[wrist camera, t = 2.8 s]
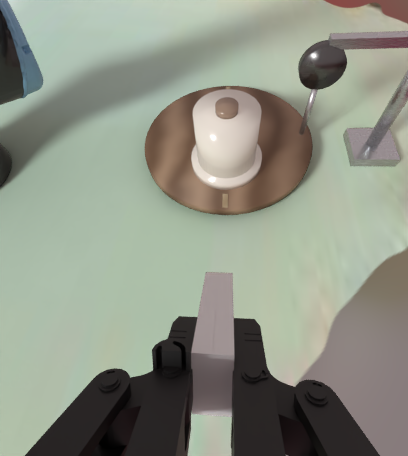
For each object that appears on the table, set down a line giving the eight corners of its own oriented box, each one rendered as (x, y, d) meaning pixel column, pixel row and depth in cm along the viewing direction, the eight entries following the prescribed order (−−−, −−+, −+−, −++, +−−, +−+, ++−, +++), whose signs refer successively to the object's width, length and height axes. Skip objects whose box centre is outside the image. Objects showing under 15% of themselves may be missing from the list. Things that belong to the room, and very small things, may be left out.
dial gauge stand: (281, 165, 49) (312, 45, 31) (278, 135, 52) (305, 12, 35) (395, 166, 47) (493, 40, 30) (384, 135, 50) (467, 5, 33)
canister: (189, 189, 44) (180, 136, 35) (194, 137, 49) (187, 78, 40) (262, 190, 43) (272, 135, 34) (259, 137, 48) (268, 77, 39)
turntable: (134, 213, 45) (131, 207, 43) (158, 94, 58) (156, 86, 56) (320, 216, 42) (323, 210, 41) (300, 92, 56) (303, 84, 54)
